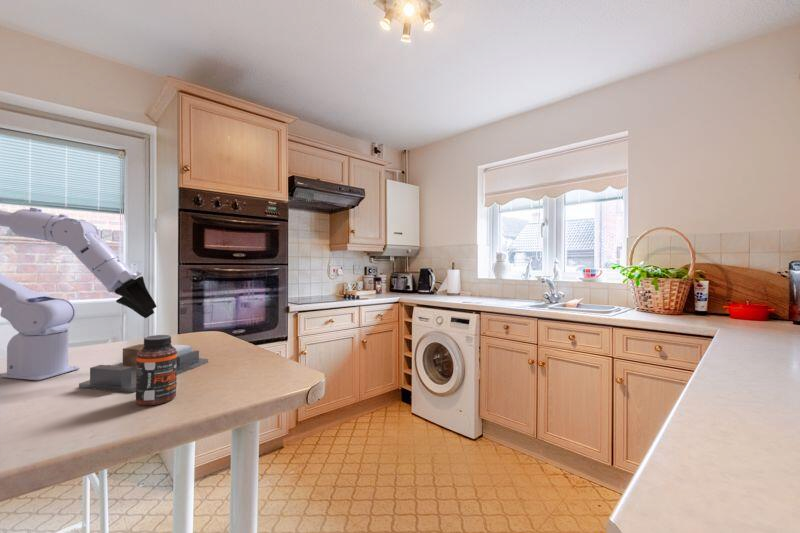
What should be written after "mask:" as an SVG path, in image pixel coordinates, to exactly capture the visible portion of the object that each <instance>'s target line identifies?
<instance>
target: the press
mask: <svg viewBox="0 0 800 533" xmlns="http://www.w3.org/2000/svg"><path fill="white" fill-rule="evenodd" d="M208 363H209V358H201V357H200V350H192V352H189V353H187V354H184V355H181V356H178V357H177V376H178V375H180V374H183V373H185V372H187V371H190V370H192V369H194V368H198V367H199V366H200V367H201V366H203V365H204V364H208ZM78 388H79V389H80V388H81V389H91V390H99V389H100V390H102V391H110V392H111V391H113V392H122V393H123V392H124V393H136V365H135V366H123V365H122V366H121V365H108V364H99V365H98V364H97V365H95V366H93V367H89V380H86V381H82V382H79V383H78Z"/></svg>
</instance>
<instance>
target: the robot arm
mask: <svg viewBox="0 0 800 533" xmlns="http://www.w3.org/2000/svg"><path fill="white" fill-rule="evenodd" d="M0 227H4V228H5V227H6V228H9V229H10V231H11V232H12V233H14V234H15V235H16V236H19V237H25V238H30V239H36V240H40V241H41V240H42V241H45V242H52V243H55V244H57V245H59V246H64V247H67V248H68V249H69V251H71V252H72V253H73V255H74V256H75V257H76V258H77V259H78V260H79V261H80V262H81V263H82V264H83V265H84V266H85V267H86V268H87V269H88V270H89V271H90V273H92V275H93V276H94V277H96V279H97V280H99V282H100V283H102V285H103V286H104V287H105V288H106V290H107V292H108V293H115V294H116V295H118V296H121V297H120V298H118V299H116V300H115V302H116V303H117V304H120V305H122V306H125V307H127V308H129V309H131V310H132V311H133V312H135V313H137V314H138V315H139V316H141V317H143V318H144V319H147V318H149V317H151V315H154V314H155V311H154V309H155V308H157V304H156V302H155V300H154V298H153V297H152V296H151V294H150V293H149V290H148V289H147V287H146V283H145V279H144V276H141V275H142V272H141V271H140V270H137V271H135V272H134V271H132V269H130V267H129V266H128V264H126V263H125V262H124V261H123V260H122V259H121V258H120V256H119V255H118V254H117V253H116V252H115V251H114V250H113V249H112V248H111V247H110V246H109V244H107V243H106V242H105V241H104V240H103V239H102V238H101V236H99V231H98V228H97V227H96V225H94V224H93V223H91V222H89V221H87V220H84V219H76V218H70V217H69V215H67V214H63V213H60V214H59V215H56V214H52V213H47V212H43V210H42V209H41V208H36V207H32V206H31V207H29V209H27V208H21V209H17V210H16V211H14V212H11V211H6V210H3V209H0ZM0 308H1V310H0V311H1V312H0V317H1V318H4V319H5V320H6V321H7V322H8V323H10V325H11V327H12V328H13V329H15V331H17V332H18V333H17V334H15V335H13V336H12V337H11V338H10V340H9V341H8V343H7V346H6V373H4V374H1V378H6V379H7V378H9V379H19V380H29V381H40V380H44V379H48V378H51V377H56V376H58V375H62V374H66V373H69V372H73V371H77V370H80V366H76V365H69V327H70V326H69V324H70V323H72V321H74V319H75V317H76V313H77V312H76V311H77V309H76V307H75V305H74V303H72V302H71V301H70V300H68V299H65V298H62V297H61V298H60V297H54V296H52V295H50V294H48V293H45V292H40V291H37V290H32V289H30V288H28V287H26V286H24V285H22V284H21V283H19V282H17V281H15V280H13V279H12V278H10V277H8V276H6V275H4V274H3V273H1V272H0Z"/></svg>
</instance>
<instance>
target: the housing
mask: <svg viewBox="0 0 800 533" xmlns="http://www.w3.org/2000/svg"><path fill="white" fill-rule="evenodd" d="M143 347H144V343H143V344H142V343H139V344H136V345H131V346H127V347H124V348H122V366H125V367H132V366H135V365H136V362H137V354H138V352H139V351H140V350H142V349H143Z"/></svg>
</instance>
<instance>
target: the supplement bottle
mask: <svg viewBox="0 0 800 533" xmlns="http://www.w3.org/2000/svg"><path fill="white" fill-rule="evenodd" d="M143 344H144V347H143V349H142V350H140V351H139V352H138V354H137V362H136V392H135V402H136V403H137V404H138V405H140V406H156V405H157V406H158V405H161V404H165V403H168V402H170V401H171V400H173V399H174V398H175V397H176V396H177V380H178V379H177V376H178V375H177V350H176V348H174V347H173V346H172V345H173V344H172V336H171V335H169V334H159V335H158V334H156V335H155V334H154V335H150V336H145V337H144V338H143Z"/></svg>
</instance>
